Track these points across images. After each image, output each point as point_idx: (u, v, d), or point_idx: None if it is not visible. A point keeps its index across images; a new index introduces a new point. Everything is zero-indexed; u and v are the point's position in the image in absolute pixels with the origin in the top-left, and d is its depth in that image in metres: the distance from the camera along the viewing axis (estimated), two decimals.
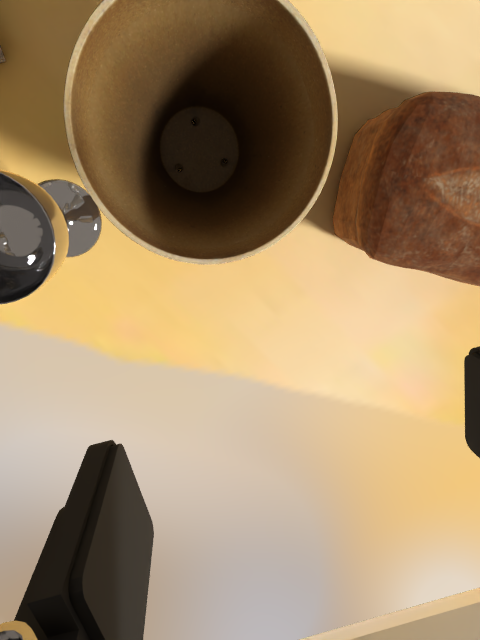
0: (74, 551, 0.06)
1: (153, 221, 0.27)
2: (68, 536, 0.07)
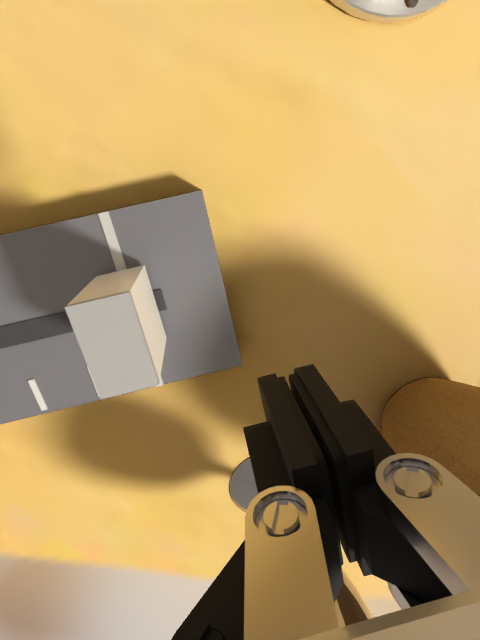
0: (306, 440, 0.08)
1: None
2: (292, 431, 0.08)
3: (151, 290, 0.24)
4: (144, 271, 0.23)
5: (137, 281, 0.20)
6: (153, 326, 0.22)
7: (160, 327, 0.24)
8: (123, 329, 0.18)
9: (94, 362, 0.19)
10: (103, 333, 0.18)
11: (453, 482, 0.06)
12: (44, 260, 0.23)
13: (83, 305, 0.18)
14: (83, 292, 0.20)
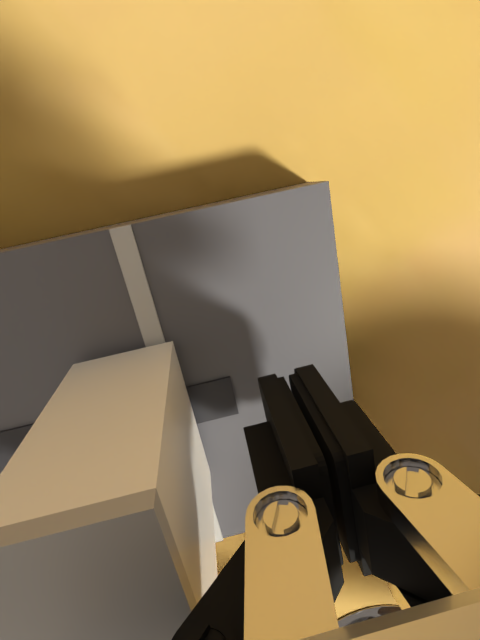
0: (306, 439, 0.08)
1: None
2: (292, 431, 0.08)
3: (185, 391, 0.12)
4: (174, 358, 0.11)
5: (167, 412, 0.08)
6: (197, 495, 0.10)
7: (203, 466, 0.12)
8: (134, 601, 0.06)
9: None
10: (71, 615, 0.06)
11: (453, 482, 0.06)
12: None
13: (4, 553, 0.05)
14: (27, 449, 0.08)
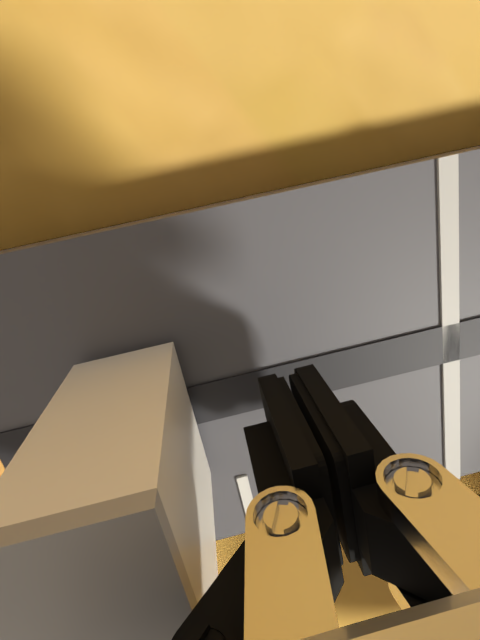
0: (306, 440, 0.08)
1: None
2: (292, 431, 0.08)
3: (186, 391, 0.12)
4: (174, 359, 0.11)
5: (167, 412, 0.08)
6: (198, 495, 0.10)
7: (203, 467, 0.12)
8: (135, 600, 0.06)
9: None
10: (73, 614, 0.06)
11: (453, 482, 0.06)
12: (313, 254, 0.12)
13: (6, 553, 0.05)
14: (28, 449, 0.08)
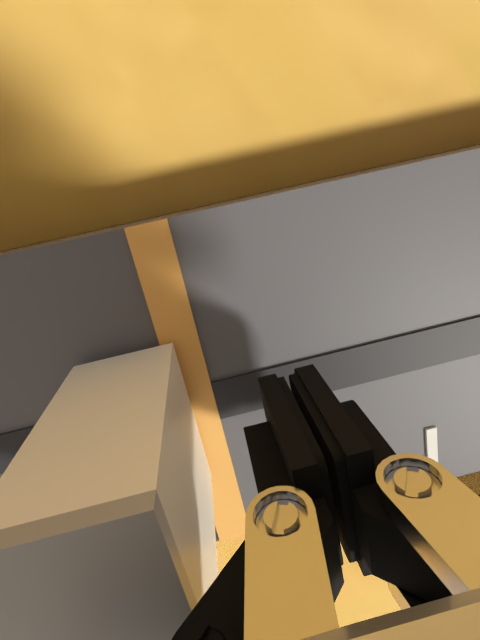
0: (306, 439, 0.08)
1: None
2: (292, 431, 0.08)
3: (185, 392, 0.12)
4: (174, 360, 0.11)
5: (167, 414, 0.08)
6: (198, 496, 0.10)
7: (204, 468, 0.12)
8: (134, 602, 0.06)
9: None
10: (72, 617, 0.06)
11: (453, 482, 0.06)
12: None
13: (6, 555, 0.05)
14: (28, 451, 0.08)
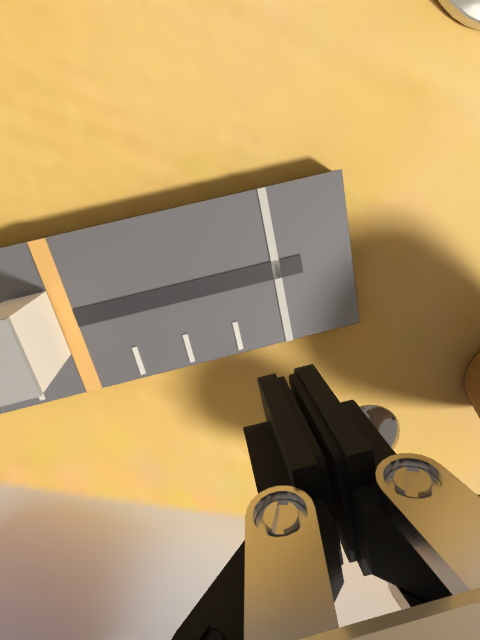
0: (306, 440, 0.08)
1: None
2: (292, 431, 0.08)
3: (53, 313, 0.28)
4: (43, 297, 0.27)
5: (26, 307, 0.24)
6: (46, 345, 0.25)
7: (61, 345, 0.28)
8: (4, 349, 0.22)
9: None
10: None
11: (453, 482, 0.06)
12: (209, 229, 0.28)
13: None
14: None
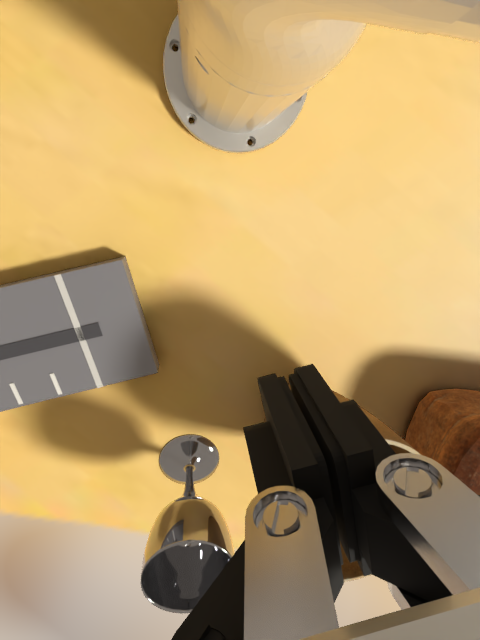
0: (306, 440, 0.08)
1: None
2: (292, 431, 0.08)
3: None
4: None
5: None
6: None
7: None
8: None
9: None
10: None
11: (453, 482, 0.06)
12: (19, 305, 0.36)
13: None
14: None
